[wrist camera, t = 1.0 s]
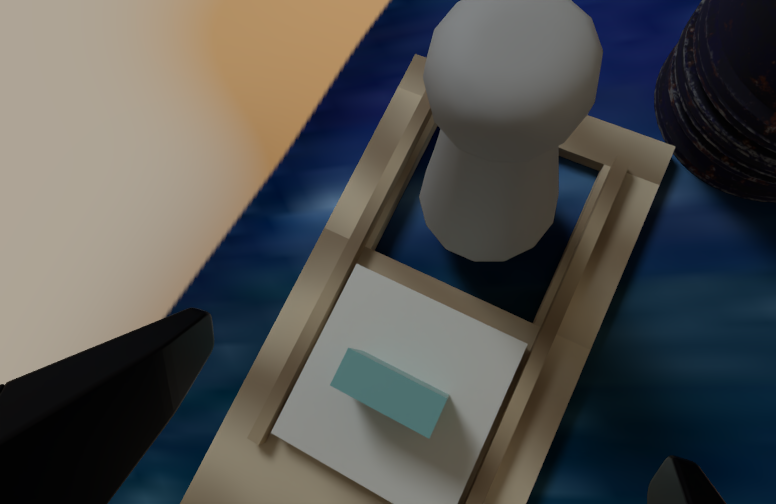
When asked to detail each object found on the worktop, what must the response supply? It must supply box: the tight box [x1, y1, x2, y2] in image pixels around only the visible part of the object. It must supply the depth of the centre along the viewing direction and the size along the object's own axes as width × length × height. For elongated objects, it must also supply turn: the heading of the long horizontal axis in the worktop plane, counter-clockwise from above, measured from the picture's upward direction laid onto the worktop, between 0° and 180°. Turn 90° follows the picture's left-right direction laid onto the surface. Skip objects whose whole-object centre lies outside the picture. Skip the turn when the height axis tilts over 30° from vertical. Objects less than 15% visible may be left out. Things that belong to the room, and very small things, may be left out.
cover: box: [271, 264, 528, 504], centre depth 20 cm, size 8×8×4 cm
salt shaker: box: [419, 0, 603, 262], centre depth 18 cm, size 6×6×13 cm
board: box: [180, 54, 675, 504], centre depth 22 cm, size 27×13×2 cm, turn 154°
